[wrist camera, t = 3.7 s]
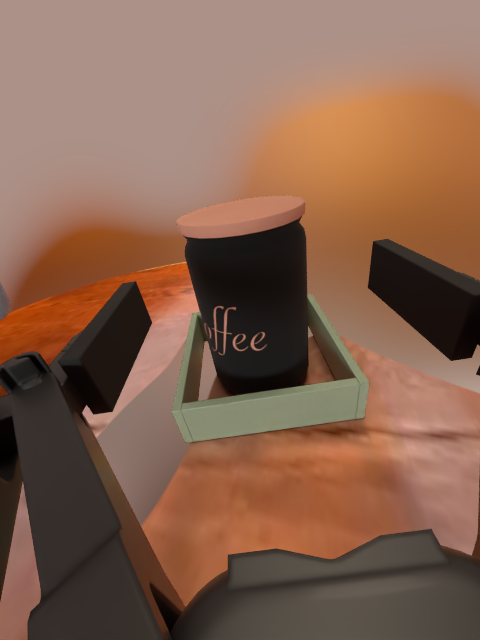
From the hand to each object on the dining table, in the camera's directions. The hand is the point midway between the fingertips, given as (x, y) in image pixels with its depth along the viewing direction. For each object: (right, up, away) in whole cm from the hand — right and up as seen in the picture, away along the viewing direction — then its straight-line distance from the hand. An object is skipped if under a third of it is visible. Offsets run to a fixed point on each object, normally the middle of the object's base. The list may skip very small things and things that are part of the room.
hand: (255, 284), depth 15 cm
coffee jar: (+2, -8, +16) cm, 18 cm away
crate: (+2, -8, +16) cm, 18 cm away
